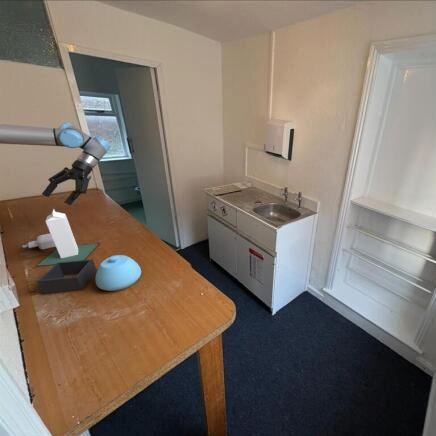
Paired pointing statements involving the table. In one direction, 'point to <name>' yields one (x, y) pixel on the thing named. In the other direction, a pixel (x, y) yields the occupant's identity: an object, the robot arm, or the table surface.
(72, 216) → the table surface
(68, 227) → the milk
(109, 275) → the sugar bowl
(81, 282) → the box
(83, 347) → the table surface
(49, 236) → the glue bottle
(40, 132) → the robot arm
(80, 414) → the table surface
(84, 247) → the mat
